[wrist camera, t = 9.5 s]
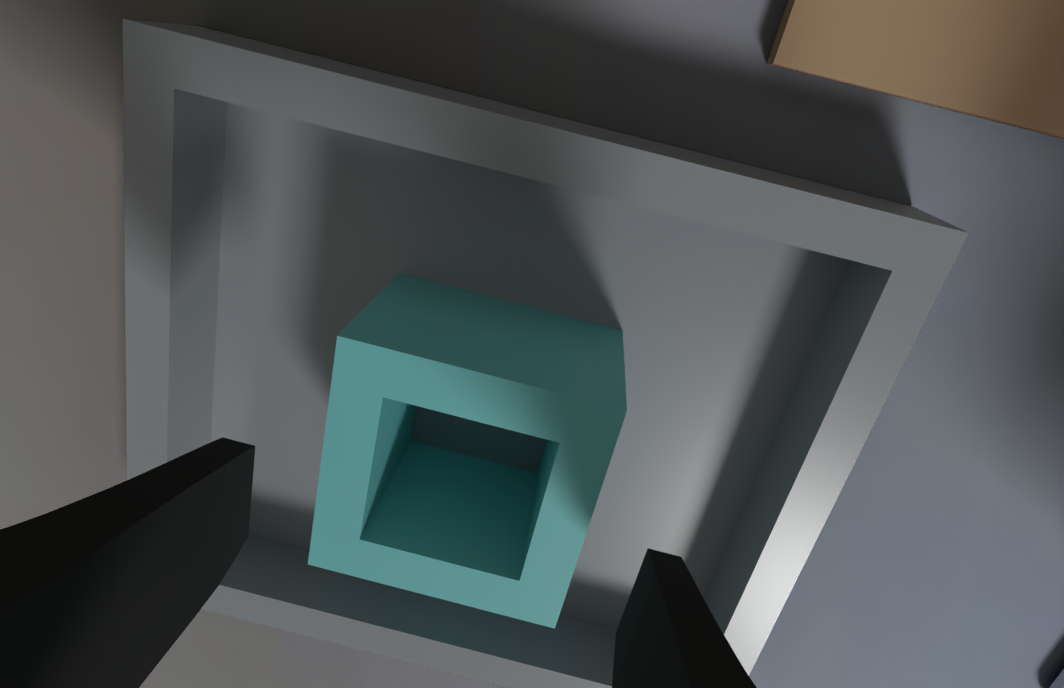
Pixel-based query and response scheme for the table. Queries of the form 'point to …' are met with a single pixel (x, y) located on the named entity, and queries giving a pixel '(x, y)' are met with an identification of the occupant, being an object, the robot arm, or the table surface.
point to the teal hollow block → (457, 479)
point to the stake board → (937, 53)
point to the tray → (513, 275)
